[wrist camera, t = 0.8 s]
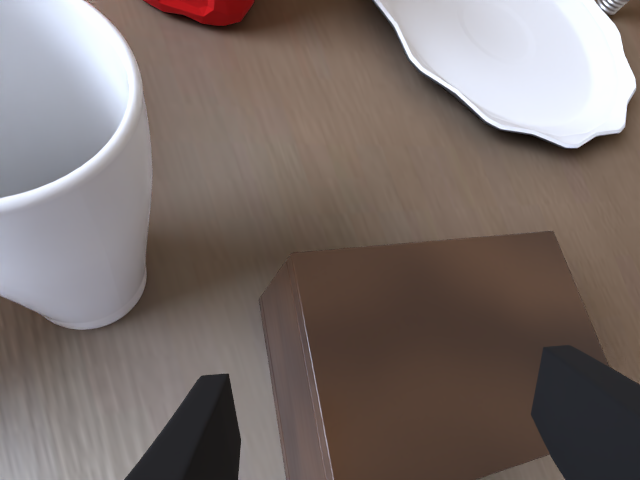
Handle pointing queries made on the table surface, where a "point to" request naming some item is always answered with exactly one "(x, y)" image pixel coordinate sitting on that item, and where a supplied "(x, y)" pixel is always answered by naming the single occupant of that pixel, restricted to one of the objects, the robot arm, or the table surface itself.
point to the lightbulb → (611, 5)
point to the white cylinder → (71, 164)
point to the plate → (522, 62)
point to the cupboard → (417, 355)
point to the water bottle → (206, 9)
